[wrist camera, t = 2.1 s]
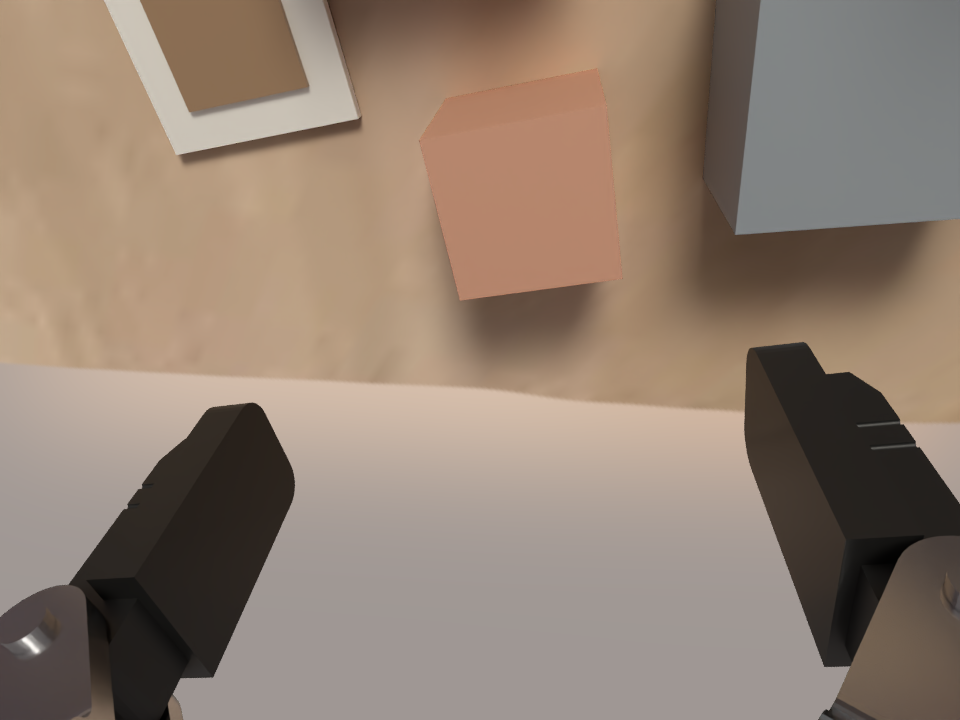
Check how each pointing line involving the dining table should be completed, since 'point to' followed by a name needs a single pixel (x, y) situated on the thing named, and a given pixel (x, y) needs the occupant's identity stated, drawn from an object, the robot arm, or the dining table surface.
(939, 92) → the slate block
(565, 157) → the terracotta cube
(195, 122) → the white square frame
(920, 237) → the dining table surface
